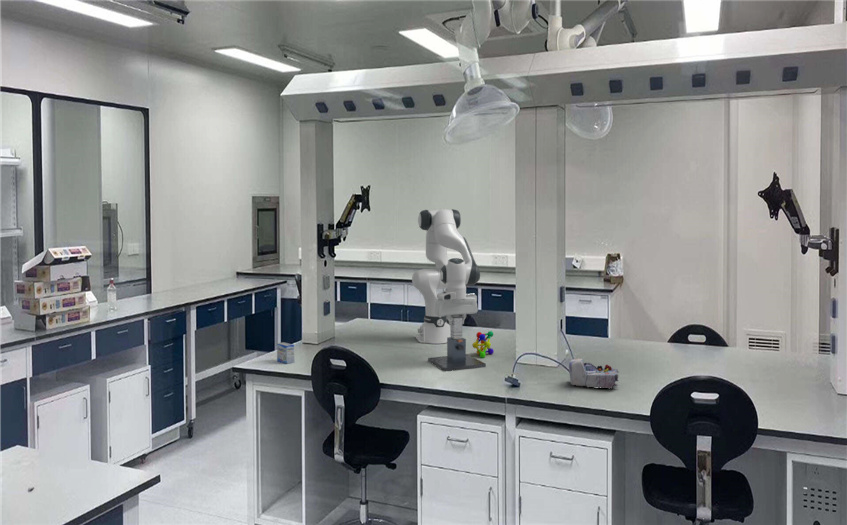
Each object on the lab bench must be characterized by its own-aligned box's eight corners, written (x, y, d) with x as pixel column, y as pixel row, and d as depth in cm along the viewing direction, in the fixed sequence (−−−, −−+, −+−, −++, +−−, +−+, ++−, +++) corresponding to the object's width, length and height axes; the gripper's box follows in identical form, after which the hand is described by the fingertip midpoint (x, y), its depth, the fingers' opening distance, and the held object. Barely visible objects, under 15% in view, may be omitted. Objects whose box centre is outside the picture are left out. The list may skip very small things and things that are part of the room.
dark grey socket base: (428, 361, 310) (427, 335, 309) (466, 357, 318) (466, 332, 316) (445, 371, 292) (445, 344, 290) (485, 366, 299) (485, 340, 298)
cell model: (568, 354, 276) (617, 357, 273) (567, 380, 277) (616, 383, 274) (570, 362, 263) (622, 365, 260) (568, 388, 264) (620, 392, 261)
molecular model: (484, 358, 314) (484, 334, 313) (471, 356, 318) (471, 332, 317) (495, 354, 323) (495, 331, 323) (482, 352, 328) (483, 329, 327)
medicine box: (277, 361, 311) (276, 343, 310) (284, 359, 314) (284, 341, 313) (286, 364, 305) (286, 345, 304) (294, 362, 308) (294, 344, 308)
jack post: (450, 351, 305) (450, 315, 304) (458, 350, 307) (458, 315, 305) (454, 353, 301) (454, 317, 300) (462, 352, 303) (462, 316, 301)
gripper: (473, 292, 308) (473, 321, 310) (433, 294, 301) (433, 324, 302) (479, 294, 302) (479, 323, 304) (438, 296, 295) (438, 327, 296)
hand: (456, 324), depth 303 cm, fingers closed on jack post, 4 cm apart
